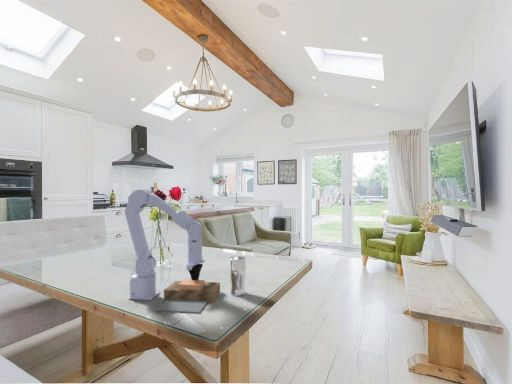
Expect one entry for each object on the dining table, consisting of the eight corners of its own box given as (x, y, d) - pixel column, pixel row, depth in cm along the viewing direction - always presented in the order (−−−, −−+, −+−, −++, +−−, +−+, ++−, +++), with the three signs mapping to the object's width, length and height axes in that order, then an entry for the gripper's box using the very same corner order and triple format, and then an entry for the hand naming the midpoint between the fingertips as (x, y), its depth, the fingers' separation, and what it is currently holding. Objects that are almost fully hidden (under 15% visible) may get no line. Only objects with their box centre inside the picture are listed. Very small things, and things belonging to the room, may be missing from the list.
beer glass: (246, 290, 120) (245, 255, 120) (246, 296, 113) (245, 259, 113) (230, 290, 120) (229, 256, 120) (229, 296, 113) (228, 260, 113)
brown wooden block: (163, 300, 110) (163, 290, 110) (175, 290, 121) (175, 280, 121) (212, 302, 108) (212, 291, 108) (219, 291, 119) (219, 282, 119)
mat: (156, 311, 100) (156, 309, 100) (168, 300, 110) (168, 299, 110) (199, 313, 98) (199, 311, 98) (207, 301, 108) (207, 300, 108)
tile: (178, 289, 111) (178, 284, 111) (184, 284, 117) (184, 279, 117) (200, 290, 110) (200, 285, 110) (204, 285, 116) (204, 280, 116)
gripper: (198, 254, 109) (198, 288, 110) (209, 246, 124) (209, 277, 124) (181, 253, 110) (181, 287, 110) (193, 246, 125) (194, 276, 125)
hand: (195, 282), depth 117 cm, fingers closed
